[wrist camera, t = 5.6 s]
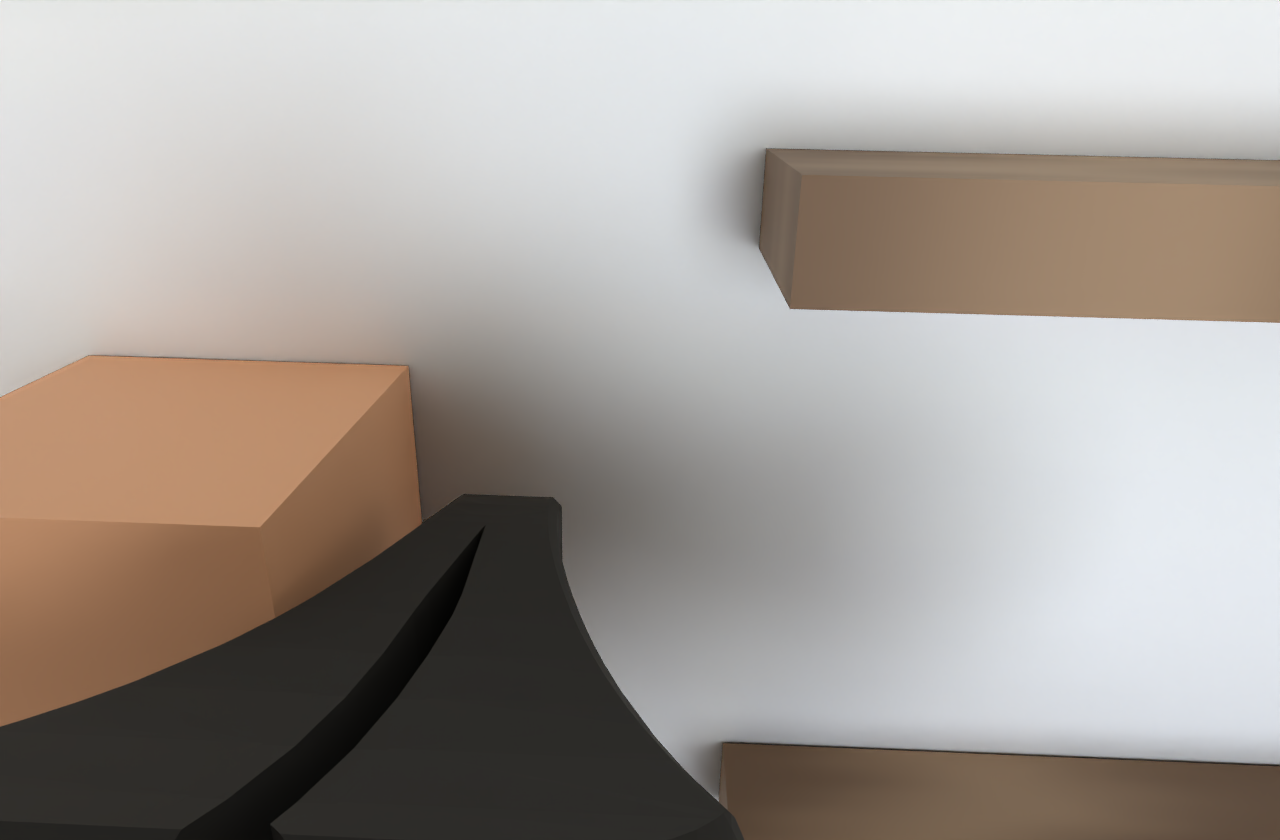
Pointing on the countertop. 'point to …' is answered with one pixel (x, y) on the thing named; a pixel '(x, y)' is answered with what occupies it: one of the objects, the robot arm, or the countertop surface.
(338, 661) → the robot arm
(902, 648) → the countertop surface
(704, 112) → the countertop surface
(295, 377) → the terracotta block
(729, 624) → the countertop surface
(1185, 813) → the wooden frame
